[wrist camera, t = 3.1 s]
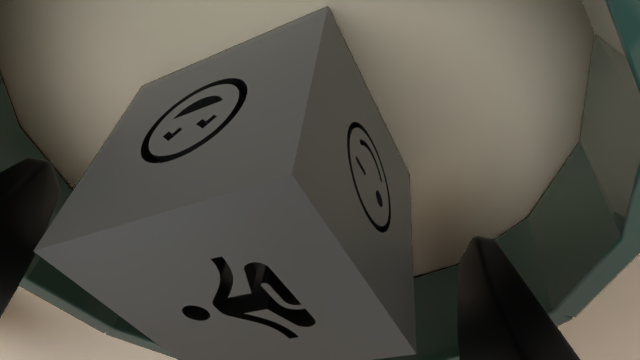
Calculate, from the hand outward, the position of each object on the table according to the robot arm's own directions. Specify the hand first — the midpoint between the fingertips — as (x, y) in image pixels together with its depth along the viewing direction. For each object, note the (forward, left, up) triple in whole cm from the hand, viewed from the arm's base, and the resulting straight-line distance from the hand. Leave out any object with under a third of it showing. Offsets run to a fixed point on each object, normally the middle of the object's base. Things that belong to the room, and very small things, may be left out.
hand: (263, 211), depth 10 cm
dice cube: (0, 0, -3) cm, 3 cm away
